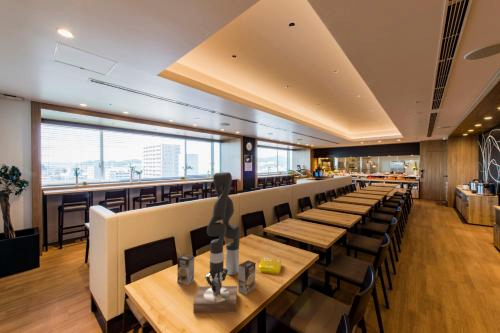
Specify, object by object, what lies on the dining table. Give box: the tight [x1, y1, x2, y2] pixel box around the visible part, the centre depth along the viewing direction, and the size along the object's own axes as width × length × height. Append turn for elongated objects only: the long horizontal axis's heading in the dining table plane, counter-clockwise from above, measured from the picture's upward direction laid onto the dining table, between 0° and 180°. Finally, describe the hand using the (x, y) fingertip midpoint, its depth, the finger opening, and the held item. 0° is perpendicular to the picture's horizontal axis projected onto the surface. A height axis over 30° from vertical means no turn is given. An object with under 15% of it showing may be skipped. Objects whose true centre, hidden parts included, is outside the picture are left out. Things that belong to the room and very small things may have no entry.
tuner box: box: [192, 285, 238, 314], centre depth 116 cm, size 15×22×6 cm
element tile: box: [258, 257, 282, 275], centre depth 155 cm, size 15×15×5 cm
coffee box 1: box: [177, 253, 195, 285], centre depth 137 cm, size 9×6×16 cm
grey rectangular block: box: [213, 278, 221, 300], centre depth 114 cm, size 10×4×7 cm, turn 25°
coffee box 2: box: [237, 259, 256, 296], centre depth 128 cm, size 9×6×16 cm
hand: (216, 290), depth 116 cm, fingers closed on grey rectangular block, 3 cm apart
